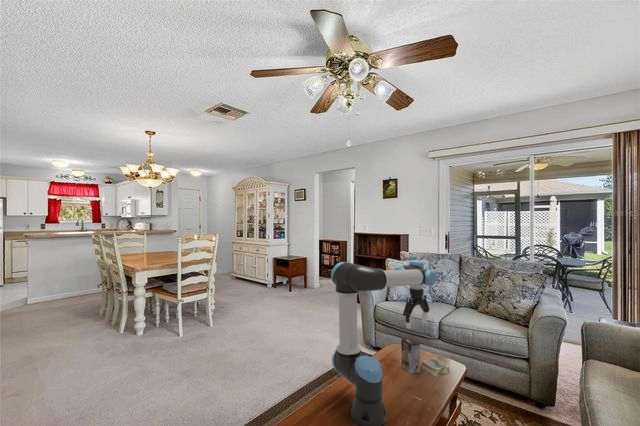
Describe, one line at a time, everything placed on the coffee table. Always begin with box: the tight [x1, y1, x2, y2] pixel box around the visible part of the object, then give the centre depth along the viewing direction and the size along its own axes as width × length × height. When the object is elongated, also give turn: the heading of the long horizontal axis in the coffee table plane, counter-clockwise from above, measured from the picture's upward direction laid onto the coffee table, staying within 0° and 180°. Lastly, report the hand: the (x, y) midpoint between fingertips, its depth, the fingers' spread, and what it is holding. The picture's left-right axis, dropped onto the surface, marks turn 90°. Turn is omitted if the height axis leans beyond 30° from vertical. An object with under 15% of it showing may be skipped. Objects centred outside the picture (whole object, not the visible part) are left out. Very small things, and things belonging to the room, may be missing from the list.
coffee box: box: [401, 337, 421, 374], centre depth 167 cm, size 9×6×16 cm
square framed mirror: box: [422, 357, 450, 378], centre depth 165 cm, size 10×10×4 cm
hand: (416, 325), depth 165 cm, fingers open, 13 cm apart
